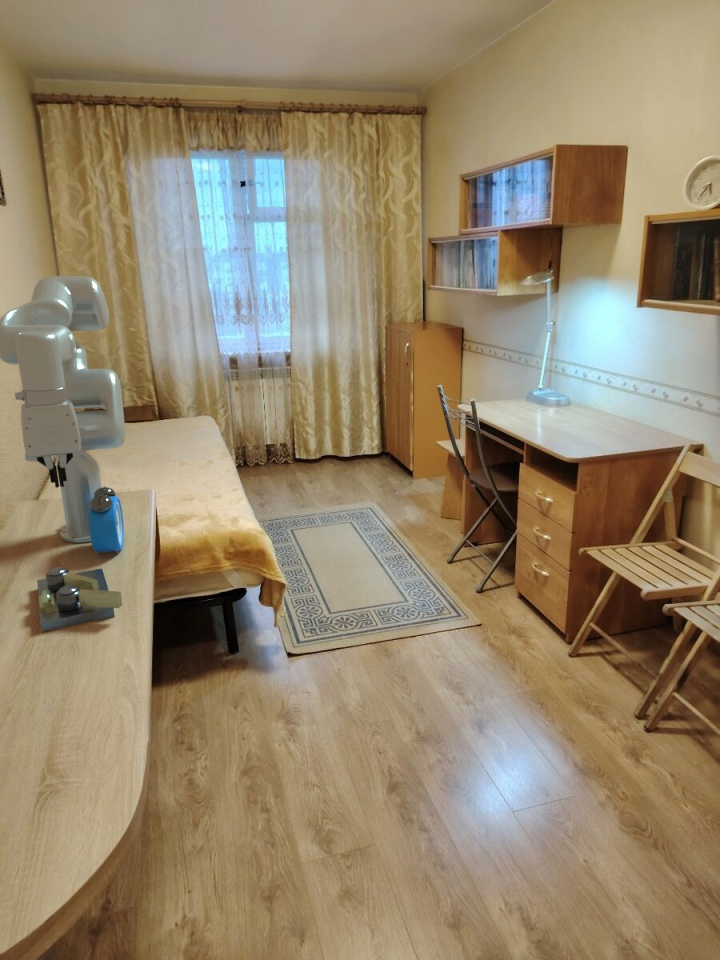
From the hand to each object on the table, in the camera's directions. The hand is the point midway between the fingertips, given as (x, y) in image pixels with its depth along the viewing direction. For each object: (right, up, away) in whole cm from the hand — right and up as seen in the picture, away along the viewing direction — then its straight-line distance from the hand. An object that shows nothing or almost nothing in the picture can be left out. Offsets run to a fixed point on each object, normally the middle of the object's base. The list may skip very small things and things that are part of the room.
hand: (59, 484), depth 136 cm
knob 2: (+9, -24, -6) cm, 26 cm away
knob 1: (+2, -22, +1) cm, 22 cm away
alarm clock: (0, -16, +26) cm, 31 cm away
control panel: (+3, -24, +1) cm, 24 cm away
